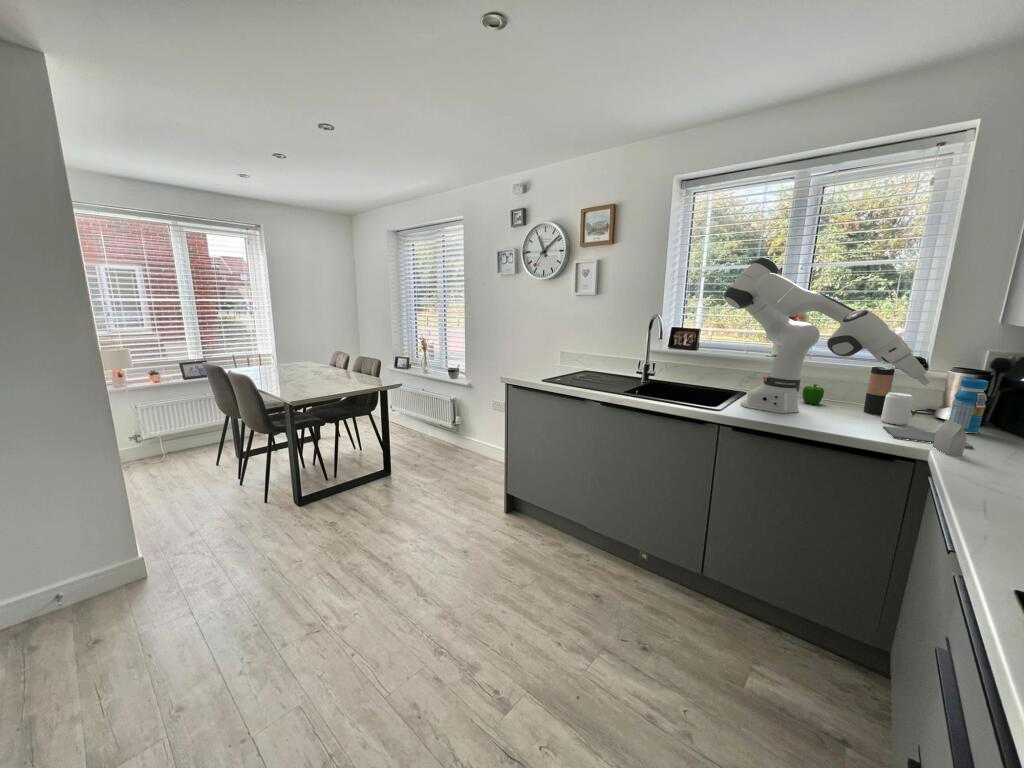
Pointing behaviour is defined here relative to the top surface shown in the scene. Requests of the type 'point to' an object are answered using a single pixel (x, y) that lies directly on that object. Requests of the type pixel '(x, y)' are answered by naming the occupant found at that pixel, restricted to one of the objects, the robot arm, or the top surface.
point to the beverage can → (897, 408)
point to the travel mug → (878, 389)
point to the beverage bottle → (969, 404)
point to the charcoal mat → (915, 435)
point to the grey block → (950, 439)
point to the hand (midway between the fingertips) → (920, 379)
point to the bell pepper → (813, 394)
